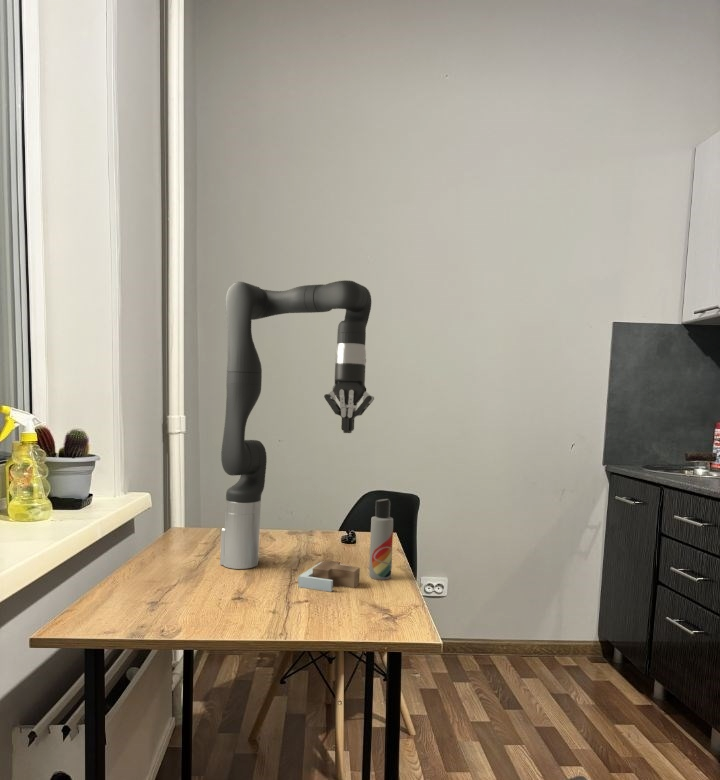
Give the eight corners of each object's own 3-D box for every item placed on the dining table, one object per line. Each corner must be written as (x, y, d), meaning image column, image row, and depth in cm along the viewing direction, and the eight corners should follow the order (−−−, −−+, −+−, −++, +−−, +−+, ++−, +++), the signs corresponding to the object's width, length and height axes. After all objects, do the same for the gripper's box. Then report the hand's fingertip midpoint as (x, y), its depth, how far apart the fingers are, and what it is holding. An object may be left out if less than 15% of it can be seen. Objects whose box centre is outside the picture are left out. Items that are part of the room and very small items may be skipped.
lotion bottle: (389, 581, 145) (392, 501, 146) (367, 578, 146) (370, 499, 147) (392, 574, 151) (395, 497, 151) (371, 572, 152) (374, 496, 152)
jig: (297, 586, 138) (298, 576, 138) (320, 571, 151) (321, 561, 151) (330, 591, 135) (331, 581, 135) (351, 575, 148) (351, 565, 149)
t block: (312, 585, 140) (312, 568, 140) (324, 576, 148) (325, 560, 148) (350, 590, 137) (351, 573, 137) (361, 581, 144) (362, 565, 144)
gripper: (319, 361, 142) (316, 432, 141) (371, 362, 137) (368, 435, 137) (331, 363, 149) (328, 431, 148) (380, 364, 144) (377, 433, 144)
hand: (347, 432), depth 143 cm, fingers closed
